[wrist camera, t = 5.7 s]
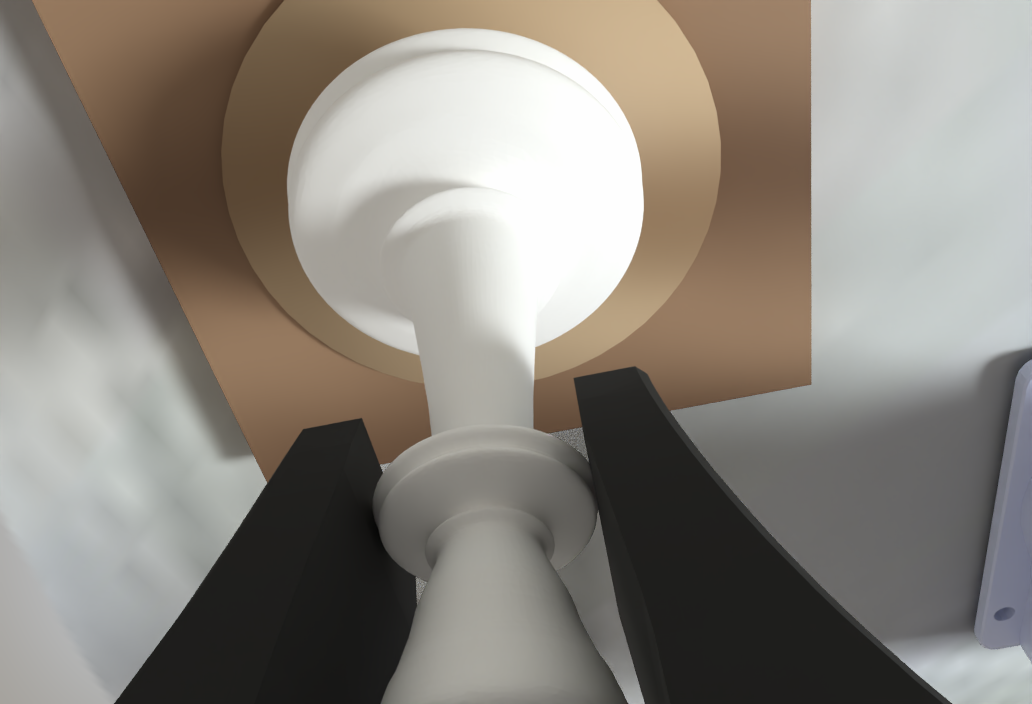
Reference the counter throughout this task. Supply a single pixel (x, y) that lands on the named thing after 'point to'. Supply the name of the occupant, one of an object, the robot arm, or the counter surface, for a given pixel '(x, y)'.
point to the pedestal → (437, 6)
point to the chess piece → (475, 331)
